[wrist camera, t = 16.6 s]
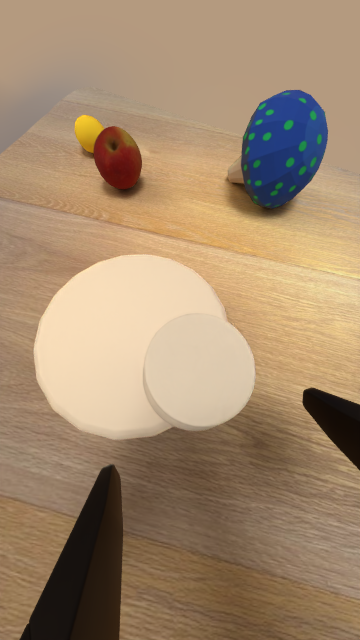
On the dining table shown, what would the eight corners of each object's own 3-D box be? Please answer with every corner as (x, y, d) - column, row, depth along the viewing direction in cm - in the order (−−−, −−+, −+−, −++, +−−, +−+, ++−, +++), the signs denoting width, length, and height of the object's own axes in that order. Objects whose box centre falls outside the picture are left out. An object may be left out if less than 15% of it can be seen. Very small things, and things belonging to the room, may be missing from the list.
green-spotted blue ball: (236, 104, 33) (346, 27, 21) (260, 184, 42) (345, 159, 31) (192, 161, 30) (289, 107, 19) (227, 231, 40) (307, 223, 28)
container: (187, 469, 18) (192, 490, 14) (17, 386, 21) (-24, 382, 16) (239, 302, 26) (253, 282, 22) (111, 256, 28) (100, 230, 24)
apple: (93, 190, 34) (72, 132, 27) (121, 168, 37) (109, 111, 30) (127, 205, 33) (114, 149, 26) (153, 181, 36) (148, 125, 29)
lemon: (117, 152, 39) (109, 116, 34) (98, 163, 38) (87, 127, 33) (93, 140, 41) (82, 104, 36) (74, 151, 39) (59, 115, 34)
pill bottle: (167, 344, 18) (161, 286, 9) (224, 363, 18) (278, 322, 9) (143, 405, 16) (105, 410, 7) (208, 430, 15) (258, 469, 6)
